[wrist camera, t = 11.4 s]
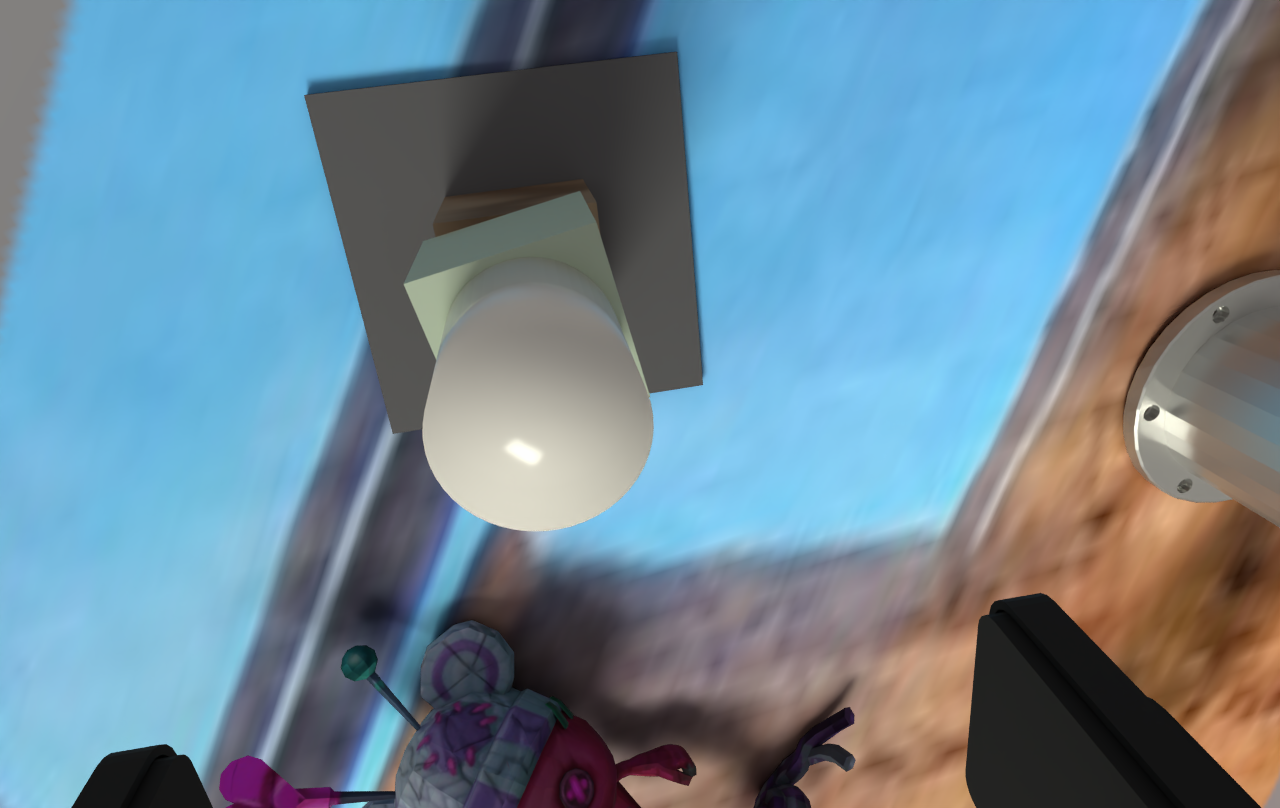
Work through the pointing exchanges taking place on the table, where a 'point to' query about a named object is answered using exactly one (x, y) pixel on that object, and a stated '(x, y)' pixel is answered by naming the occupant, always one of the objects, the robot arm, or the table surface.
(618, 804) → the toy
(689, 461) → the table surface
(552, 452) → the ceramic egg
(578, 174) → the mat
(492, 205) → the block bottom
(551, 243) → the block top
